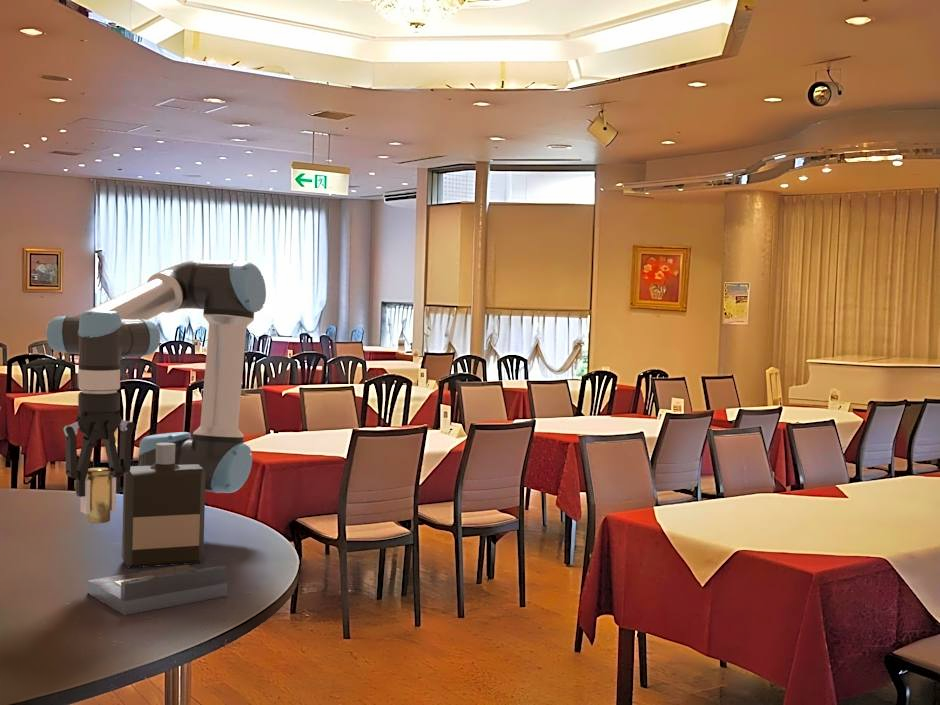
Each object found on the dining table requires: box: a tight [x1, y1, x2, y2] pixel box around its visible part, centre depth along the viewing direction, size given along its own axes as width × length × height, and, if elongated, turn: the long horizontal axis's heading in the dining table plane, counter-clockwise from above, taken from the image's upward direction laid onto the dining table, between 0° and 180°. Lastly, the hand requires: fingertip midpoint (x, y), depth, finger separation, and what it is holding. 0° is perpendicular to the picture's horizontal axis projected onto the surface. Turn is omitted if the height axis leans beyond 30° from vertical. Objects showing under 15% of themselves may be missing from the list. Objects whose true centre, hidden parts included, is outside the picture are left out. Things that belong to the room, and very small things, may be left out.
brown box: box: [121, 443, 206, 569], centre depth 213 cm, size 8×16×25 cm, turn 115°
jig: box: [87, 564, 228, 616], centre depth 190 cm, size 20×16×6 cm
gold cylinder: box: [85, 467, 111, 525], centre depth 196 cm, size 4×4×10 cm
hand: (98, 510), depth 196 cm, fingers closed on gold cylinder, 4 cm apart
